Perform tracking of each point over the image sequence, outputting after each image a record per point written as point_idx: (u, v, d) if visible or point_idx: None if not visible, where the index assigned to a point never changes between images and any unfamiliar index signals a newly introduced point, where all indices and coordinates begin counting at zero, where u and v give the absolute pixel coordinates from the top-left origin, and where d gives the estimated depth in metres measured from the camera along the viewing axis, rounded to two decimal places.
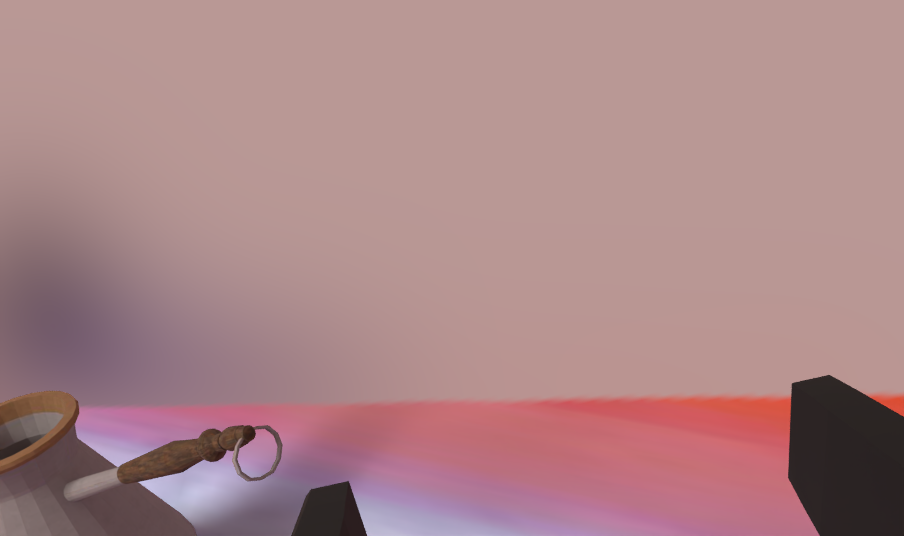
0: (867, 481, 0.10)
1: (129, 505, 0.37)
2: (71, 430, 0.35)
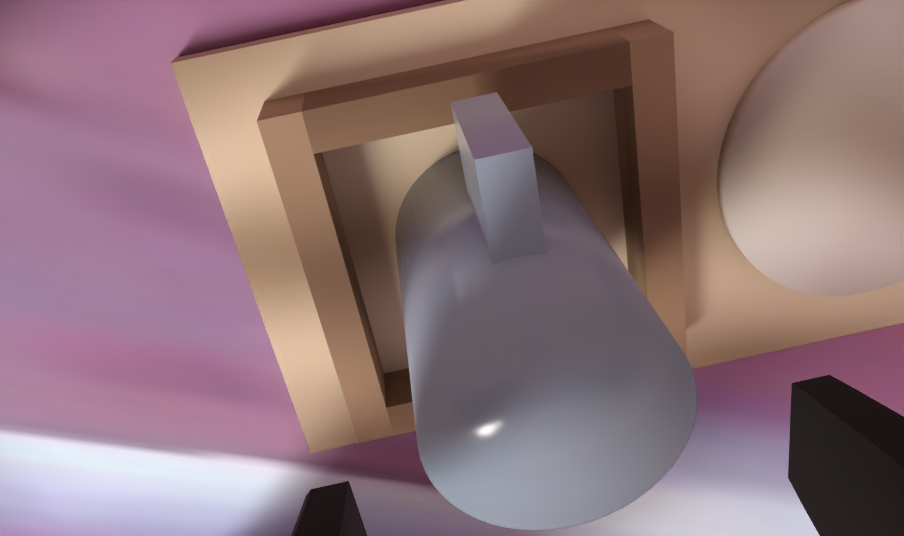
0: (867, 481, 0.10)
1: None
2: None
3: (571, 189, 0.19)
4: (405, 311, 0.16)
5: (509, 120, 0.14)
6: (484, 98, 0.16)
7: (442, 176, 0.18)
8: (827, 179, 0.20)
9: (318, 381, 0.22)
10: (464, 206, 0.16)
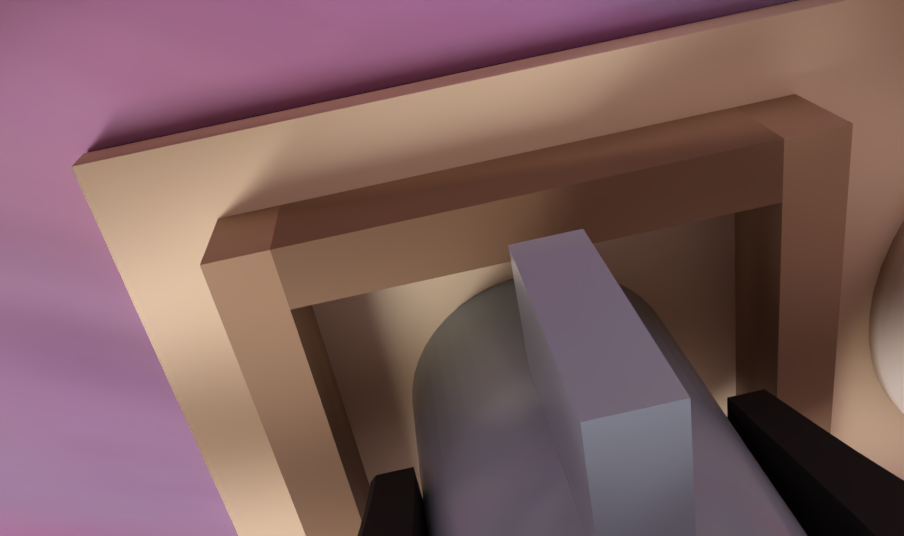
0: (793, 498, 0.10)
1: None
2: None
3: (675, 343, 0.13)
4: None
5: (623, 307, 0.08)
6: (564, 242, 0.10)
7: (484, 328, 0.12)
8: None
9: None
10: (527, 406, 0.10)
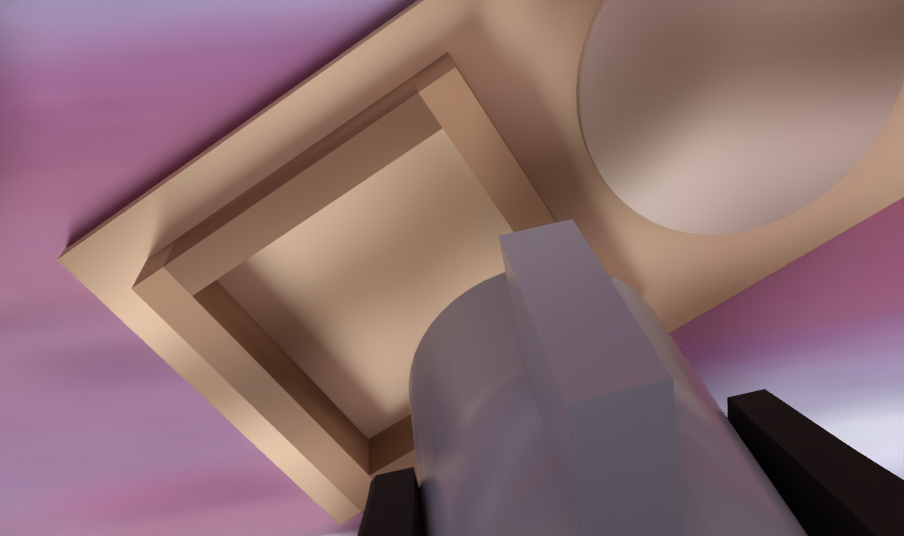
0: (793, 497, 0.10)
1: None
2: None
3: (667, 334, 0.13)
4: None
5: (610, 293, 0.08)
6: (554, 232, 0.10)
7: (478, 320, 0.12)
8: (701, 122, 0.19)
9: None
10: (520, 395, 0.10)
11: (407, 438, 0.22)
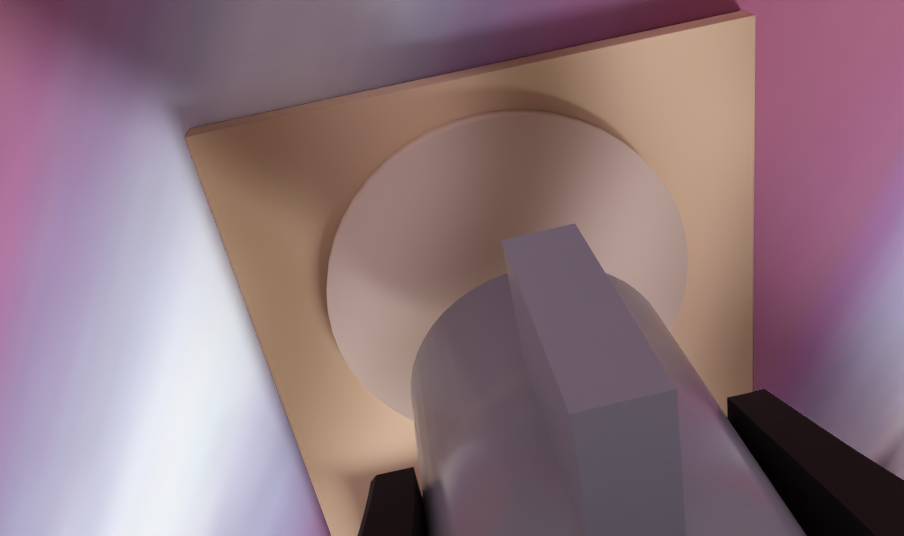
0: (793, 497, 0.10)
1: None
2: None
3: (669, 335, 0.13)
4: None
5: (613, 300, 0.08)
6: (557, 237, 0.10)
7: (480, 321, 0.12)
8: None
9: None
10: (522, 399, 0.10)
11: None
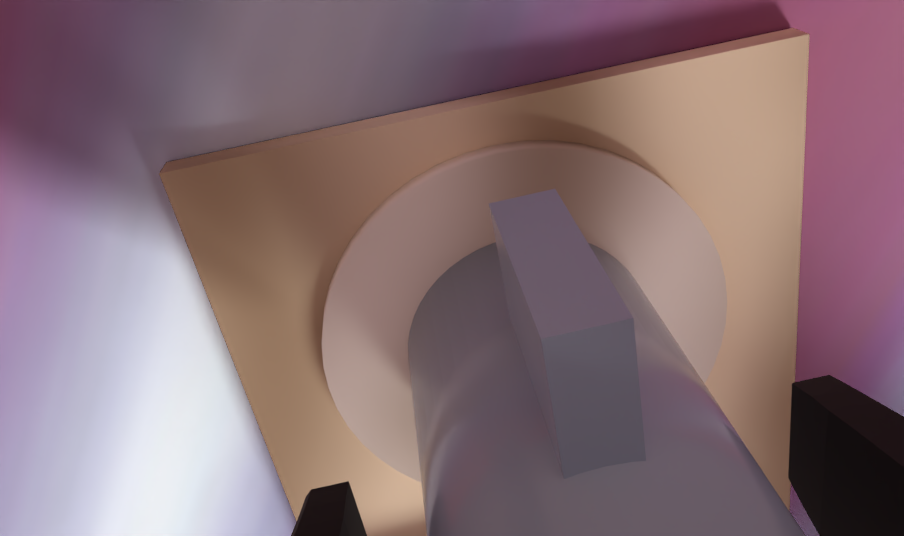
0: (867, 481, 0.10)
1: None
2: None
3: (645, 298, 0.14)
4: (426, 498, 0.11)
5: (584, 250, 0.09)
6: (538, 200, 0.11)
7: (471, 284, 0.14)
8: None
9: None
10: (508, 348, 0.12)
11: None
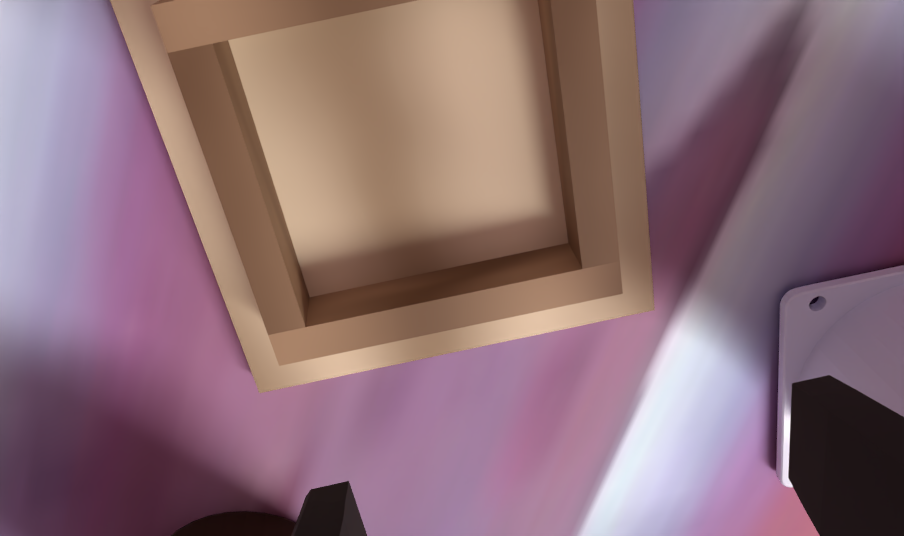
0: (867, 482, 0.10)
1: None
2: None
3: None
4: None
5: None
6: None
7: None
8: None
9: None
10: None
11: (571, 213, 0.20)
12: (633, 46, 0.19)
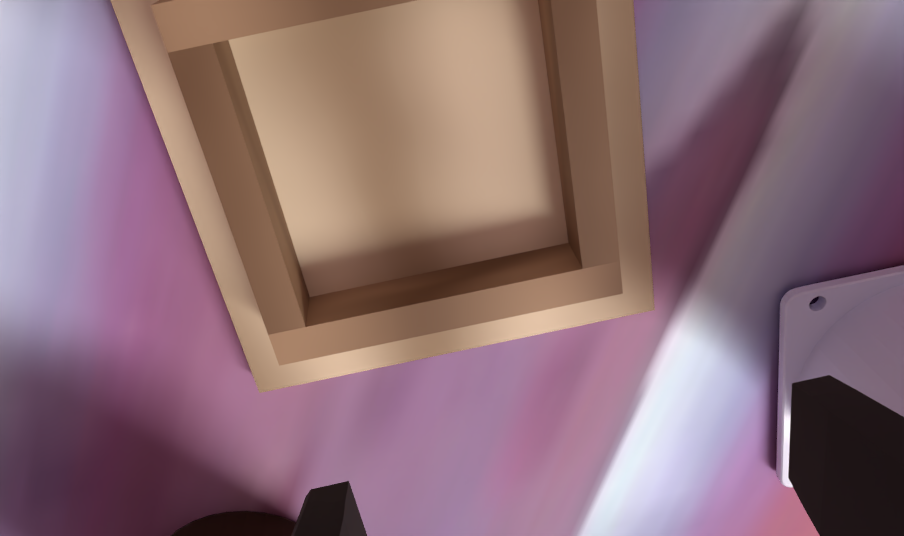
0: (867, 481, 0.10)
1: None
2: None
3: None
4: None
5: None
6: None
7: None
8: None
9: None
10: None
11: (571, 212, 0.20)
12: (633, 46, 0.19)
